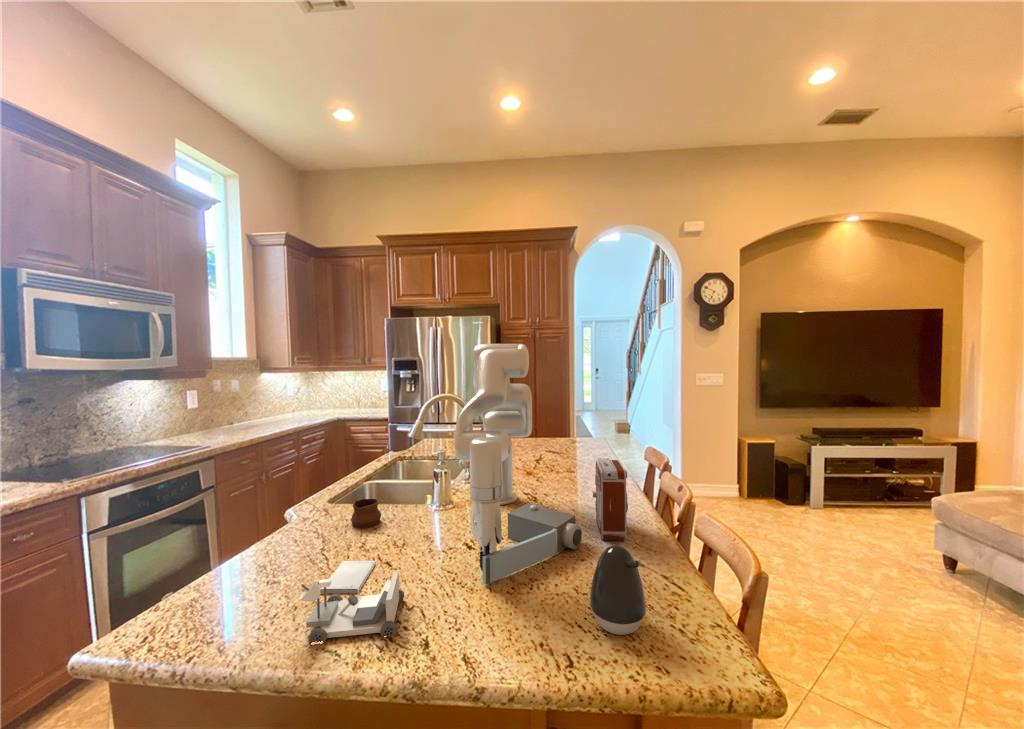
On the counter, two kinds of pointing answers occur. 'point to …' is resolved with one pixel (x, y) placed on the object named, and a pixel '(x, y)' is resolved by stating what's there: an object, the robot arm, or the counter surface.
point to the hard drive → (349, 577)
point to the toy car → (353, 611)
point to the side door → (519, 556)
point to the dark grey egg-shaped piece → (617, 592)
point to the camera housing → (544, 525)
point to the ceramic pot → (365, 513)
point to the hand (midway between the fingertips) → (487, 568)
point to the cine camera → (611, 499)
